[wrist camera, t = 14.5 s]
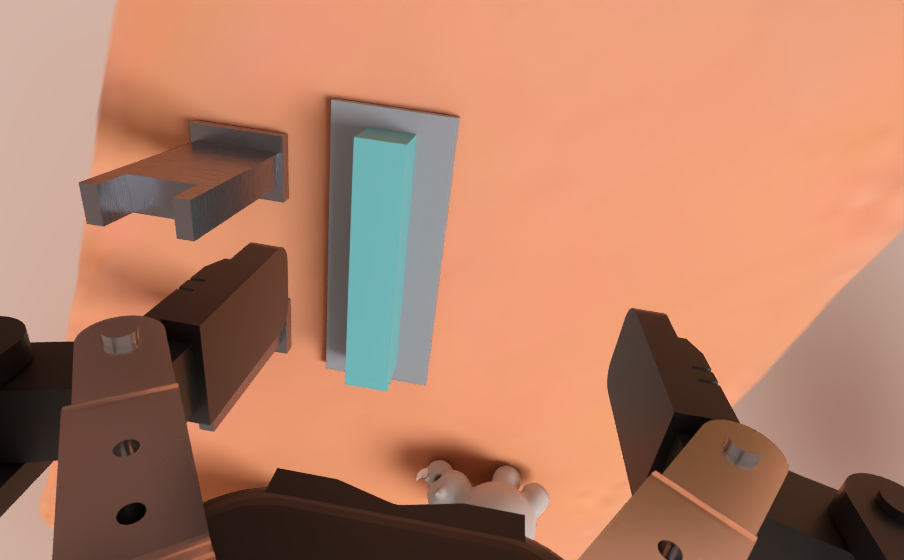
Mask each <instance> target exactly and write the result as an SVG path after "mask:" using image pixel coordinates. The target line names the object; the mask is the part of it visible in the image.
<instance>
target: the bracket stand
mask: <svg viewBox="0 0 904 560" xmlns="http://www.w3.org/2000/svg"><path fill="white" fill-rule="evenodd" d="M189 127H190V137H191V143H188V144H185V145H182V146H180V147H177V148H174V149H171V150H168V151H166V152H163V153H160V154H157V155H154V156H152V157H149V158H146V159H143V160H140V161H138V162H135V163H132V164H129V165H126V166H124V167H121V168H118V169H115V170H112V171H110V172H107V173H104V174H101V175H98V176H96V177H93V178H90V179H87V180H85V181H82V182H79V186H80V191H81V196H82V201H83V206H84V211H85V216H86V222H87V224H92V225H98V226H106V225H108V224H110V223H112V222H114V221H116V220H118V219H120V218H122V217H125V216H127V215H129V214H131V213H133V212H134V213H140V214H146V215H152V216H158V217H165V218H171V219H175V226H176V234H177V239H183V240H189V241H195V240H197V239H198V238H200V237H201V236H203V235H204V234H206V233H207V232H209V231H210V230H212V229H213V228H215V227H216V226H218V225H219V224H221V223H223V222H224V221H226V220H227V219H229V218H230V217H232V216H233V215H235V214H236V213H238V212H239V211H241V210H242V209H244V208H245V207H247V206H248V205H250V204H251V203H253V202H254V201H256V200H257V199H265V200H272V201H278V202H285V201H286V200H287V199H289V185H288V134H285V133H279V132H272V131H266V130H259V129H252V128H246V127H239V126H232V125H226V124H219V123H213V122H206V121H199V120H195V121H192V122H189ZM290 348H291V304H290V299H288V312H287V318H286V321H285V324H284V327H283V329H282V331H281V332H280V334H279V335H278V336H277V338H276V339H275V340H274V342H273V343H272V344H271V346H270V347H269V348H268V350H267V351H266V352H265V354H264V355H263V356H262V358H261V359H260V360H259V362H258V363H257V364H256V366H255V367H254V368H253V370H252V371H251V372H250V374H249V375H248V376H247V378H246V379H245V380H244V381H243V383H242V384H241V385H240V387H239V388H238V389H237V391H236V392H235V393H234V395H233V396H232V397H231V399H230V400H229V401H228V403H227V404H226V405H225V407H224V408H223V409H222V411H221V412H220V413H219V415H218V416H217V417H216V419H215V420H214V421H213V423H212V424H211V425H205V424H200V423H199V426H200V429H202V430H208V431H213V432H214V431H215V430H216V428H217V427H218V426H219V424H220V423H221V422H222V420H223V419H224V418H225V416H226V415H227V414H228V412H229V411H230V410H231V408H232V407H233V406H234V404H235V403H236V402H237V401H238V399H239V398H240V397H241V395H242V394H243V393H244V391H245V390H246V389H247V387H248V386H249V385H250V383H251V382H252V381H253V379H254V378H255V377H256V375H257V374H258V373H259V371H260V370H261V369H262V367H263V366H264V365H265V363H266V362H267V361H268V359H269V358H270V357H271V355H272V354H273V353H274V351H275V352H280V353H286V354H287V353H288V351H289V350H290Z"/></svg>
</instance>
